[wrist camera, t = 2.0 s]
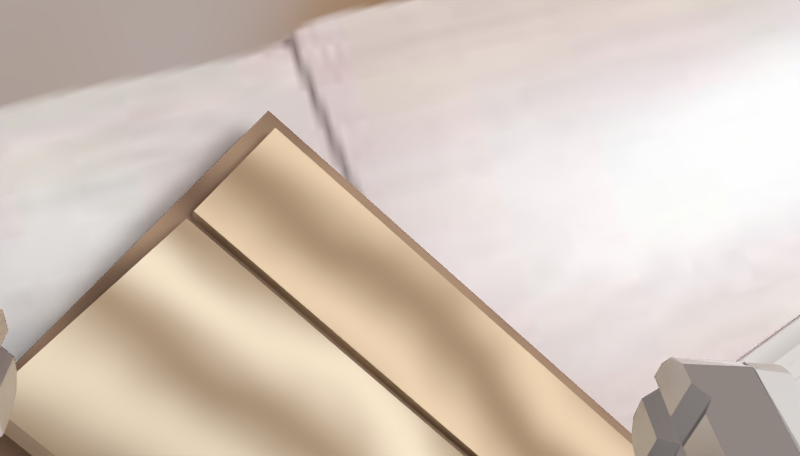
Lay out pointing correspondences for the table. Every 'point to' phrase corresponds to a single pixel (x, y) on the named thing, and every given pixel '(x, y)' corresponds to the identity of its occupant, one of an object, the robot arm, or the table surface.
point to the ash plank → (204, 373)
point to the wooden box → (376, 303)
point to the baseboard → (780, 350)
